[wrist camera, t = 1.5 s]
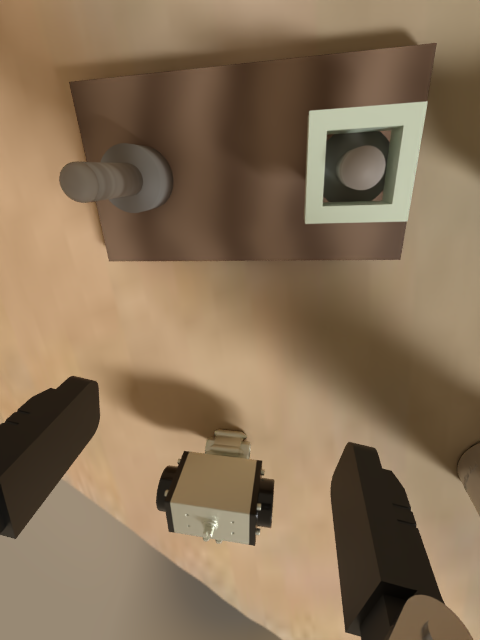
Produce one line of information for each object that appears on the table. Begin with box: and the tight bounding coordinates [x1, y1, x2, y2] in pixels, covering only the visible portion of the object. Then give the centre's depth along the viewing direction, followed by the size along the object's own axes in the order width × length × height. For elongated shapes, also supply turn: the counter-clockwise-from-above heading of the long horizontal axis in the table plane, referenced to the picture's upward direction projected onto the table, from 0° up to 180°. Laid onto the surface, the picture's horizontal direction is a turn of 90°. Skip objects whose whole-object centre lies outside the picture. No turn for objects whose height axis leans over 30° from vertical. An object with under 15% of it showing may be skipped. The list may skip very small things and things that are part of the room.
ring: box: [304, 101, 428, 224], centre depth 19 cm, size 6×6×2 cm
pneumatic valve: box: [156, 429, 274, 546], centre depth 35 cm, size 6×12×12 cm, turn 91°
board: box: [59, 43, 437, 261], centre depth 22 cm, size 26×14×12 cm, turn 93°
